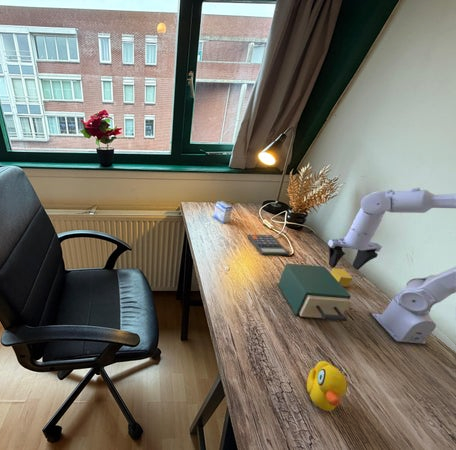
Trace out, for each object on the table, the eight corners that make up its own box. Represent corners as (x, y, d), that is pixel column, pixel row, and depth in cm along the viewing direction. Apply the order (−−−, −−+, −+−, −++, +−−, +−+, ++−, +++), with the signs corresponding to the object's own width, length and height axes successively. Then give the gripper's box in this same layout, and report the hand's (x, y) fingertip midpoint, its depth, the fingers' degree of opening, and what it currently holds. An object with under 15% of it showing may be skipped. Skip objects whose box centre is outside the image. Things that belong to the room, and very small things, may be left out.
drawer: (349, 332, 68) (361, 314, 64) (308, 329, 68) (318, 310, 64) (317, 289, 83) (325, 272, 79) (283, 287, 83) (290, 270, 80)
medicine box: (213, 216, 131) (216, 201, 127) (219, 215, 133) (222, 200, 129) (222, 223, 125) (225, 207, 121) (229, 221, 127) (233, 206, 123)
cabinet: (338, 318, 73) (351, 296, 69) (295, 315, 73) (306, 292, 69) (314, 287, 85) (324, 266, 81) (278, 284, 85) (286, 263, 81)
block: (348, 286, 86) (352, 278, 85) (336, 286, 87) (341, 277, 85) (339, 277, 91) (343, 269, 89) (328, 276, 91) (332, 268, 89)
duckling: (335, 434, 47) (358, 406, 43) (304, 418, 49) (322, 390, 45) (330, 382, 56) (349, 354, 52) (304, 370, 58) (319, 342, 54)
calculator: (272, 234, 115) (289, 253, 102) (271, 236, 115) (288, 254, 102) (248, 234, 114) (262, 252, 101) (247, 235, 114) (261, 254, 101)
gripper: (377, 226, 76) (357, 261, 83) (329, 222, 77) (314, 257, 83) (395, 237, 70) (372, 274, 76) (343, 233, 71) (325, 270, 77)
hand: (343, 266), depth 79 cm, fingers open, 7 cm apart
